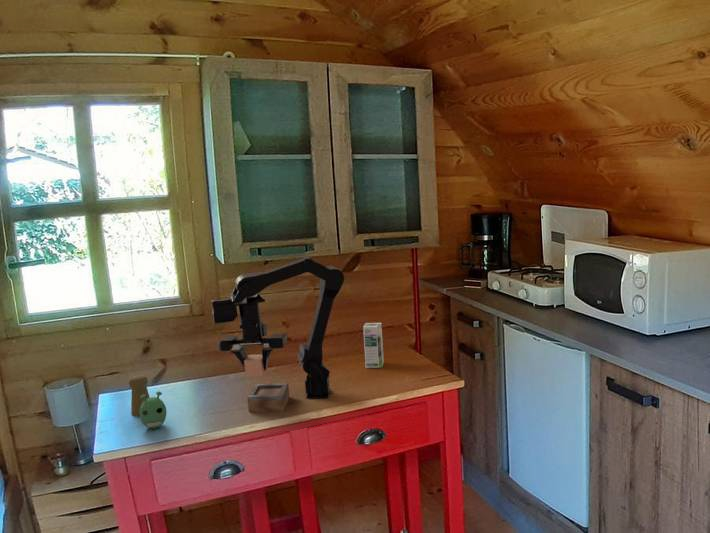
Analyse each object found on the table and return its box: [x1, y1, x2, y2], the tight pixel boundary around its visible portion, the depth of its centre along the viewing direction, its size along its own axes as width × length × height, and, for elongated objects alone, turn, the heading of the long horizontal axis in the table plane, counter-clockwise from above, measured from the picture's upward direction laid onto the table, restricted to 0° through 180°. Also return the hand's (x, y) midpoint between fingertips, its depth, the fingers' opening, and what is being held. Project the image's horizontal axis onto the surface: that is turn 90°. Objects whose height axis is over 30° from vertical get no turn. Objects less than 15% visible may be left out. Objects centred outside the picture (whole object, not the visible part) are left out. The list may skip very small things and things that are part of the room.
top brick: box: [244, 353, 268, 378], centre depth 174 cm, size 5×5×5 cm
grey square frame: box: [246, 382, 290, 413], centre depth 175 cm, size 10×10×5 cm
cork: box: [128, 374, 151, 417], centre depth 175 cm, size 6×6×11 cm
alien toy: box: [139, 391, 168, 429], centre depth 163 cm, size 7×8×10 cm
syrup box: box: [362, 322, 385, 369], centre depth 202 cm, size 6×6×14 cm
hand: (256, 370), depth 174 cm, fingers closed on top brick, 5 cm apart
